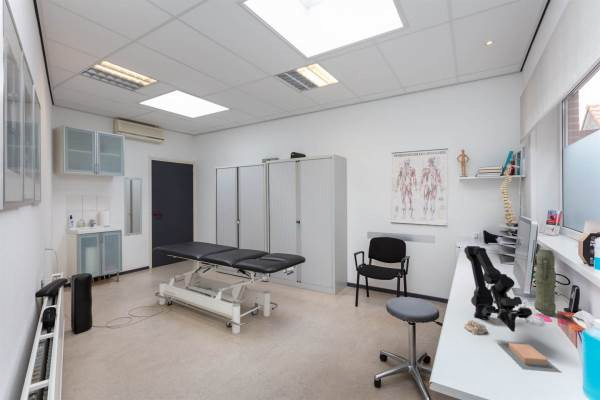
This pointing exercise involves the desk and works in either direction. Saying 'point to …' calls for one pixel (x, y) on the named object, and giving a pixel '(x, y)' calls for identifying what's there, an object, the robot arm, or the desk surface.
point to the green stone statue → (545, 283)
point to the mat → (525, 366)
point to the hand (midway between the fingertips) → (513, 331)
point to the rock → (475, 327)
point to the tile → (528, 354)
